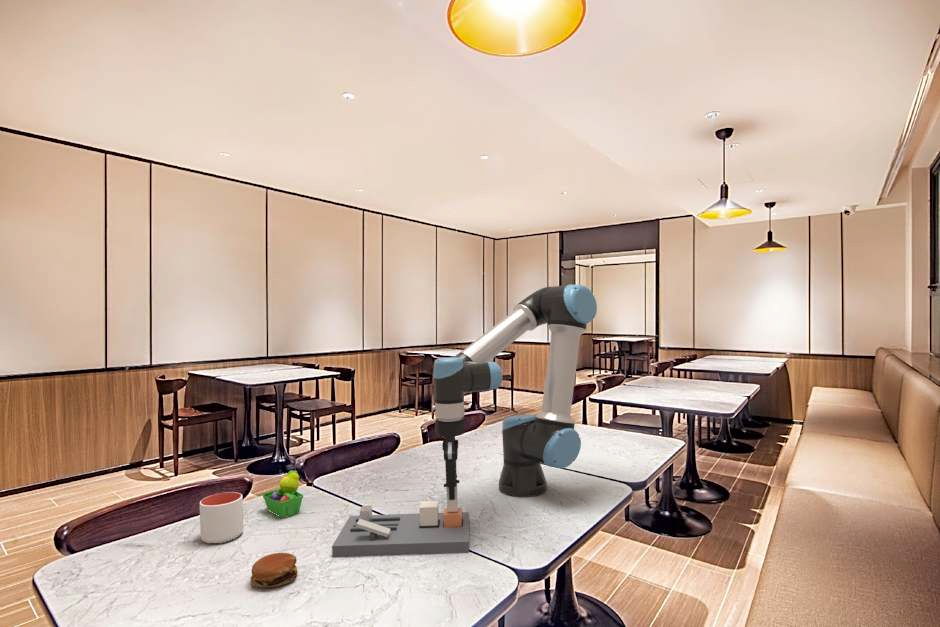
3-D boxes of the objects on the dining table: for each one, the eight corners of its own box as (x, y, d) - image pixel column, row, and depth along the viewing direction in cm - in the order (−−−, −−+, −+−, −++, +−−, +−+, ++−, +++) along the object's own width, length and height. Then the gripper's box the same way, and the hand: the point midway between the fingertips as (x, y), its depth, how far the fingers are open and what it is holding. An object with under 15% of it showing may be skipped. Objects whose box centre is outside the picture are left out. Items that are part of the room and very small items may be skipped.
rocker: (389, 531, 124) (390, 528, 124) (387, 537, 121) (388, 534, 121) (358, 521, 124) (359, 518, 124) (355, 526, 121) (356, 523, 121)
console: (469, 521, 137) (468, 506, 137) (469, 552, 119) (468, 535, 119) (350, 525, 137) (349, 510, 137) (332, 556, 119) (331, 540, 119)
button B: (438, 518, 132) (438, 500, 132) (437, 525, 128) (437, 507, 128) (421, 519, 132) (421, 501, 132) (420, 526, 128) (419, 507, 128)
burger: (246, 577, 111) (246, 556, 111) (290, 564, 116) (289, 544, 116) (257, 597, 103) (256, 574, 103) (303, 582, 108) (302, 560, 108)
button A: (462, 525, 132) (461, 507, 132) (461, 532, 128) (461, 514, 128) (445, 526, 132) (444, 508, 132) (444, 533, 128) (443, 515, 128)
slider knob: (372, 520, 132) (371, 505, 132) (369, 526, 128) (369, 510, 128) (363, 521, 132) (362, 505, 132) (360, 526, 128) (359, 511, 128)
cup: (226, 547, 126) (225, 506, 126) (191, 544, 128) (190, 505, 128) (251, 530, 136) (250, 492, 136) (218, 528, 138) (217, 491, 138)
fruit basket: (261, 511, 149) (260, 473, 149) (289, 502, 155) (288, 465, 155) (280, 521, 141) (278, 480, 141) (309, 511, 148) (308, 472, 148)
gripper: (436, 413, 137) (439, 501, 136) (433, 424, 124) (436, 521, 123) (464, 413, 137) (467, 501, 136) (464, 423, 124) (467, 520, 123)
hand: (452, 510), depth 130 cm, fingers closed
